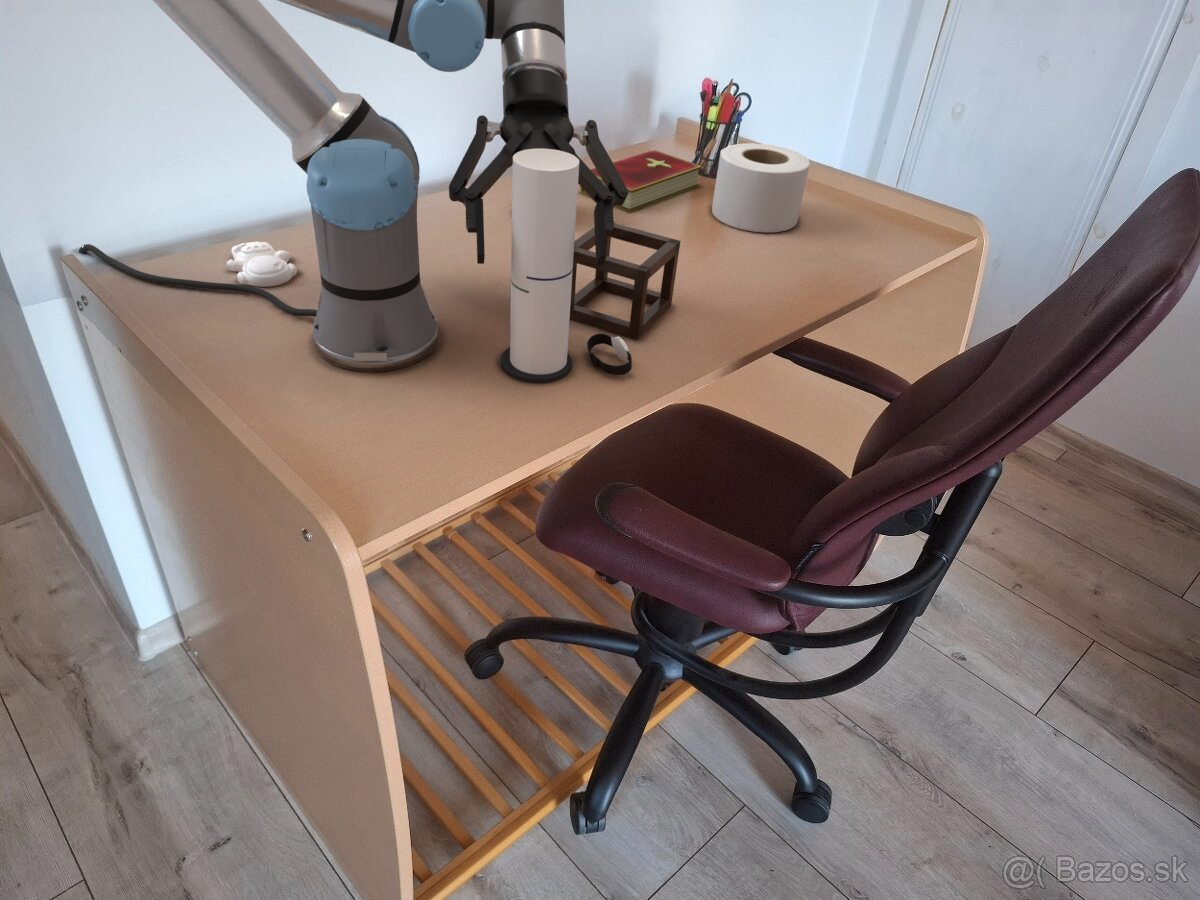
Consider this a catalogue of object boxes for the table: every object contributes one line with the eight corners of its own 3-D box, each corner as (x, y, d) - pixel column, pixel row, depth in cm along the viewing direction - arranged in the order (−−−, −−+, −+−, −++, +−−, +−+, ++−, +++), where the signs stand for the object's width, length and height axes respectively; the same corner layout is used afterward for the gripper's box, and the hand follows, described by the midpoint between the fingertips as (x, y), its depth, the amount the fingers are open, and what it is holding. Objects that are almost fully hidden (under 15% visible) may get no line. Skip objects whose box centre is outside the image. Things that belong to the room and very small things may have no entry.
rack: (560, 316, 115) (563, 248, 109) (598, 284, 124) (603, 219, 118) (637, 340, 112) (645, 271, 105) (671, 306, 120) (680, 240, 114)
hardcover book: (579, 192, 153) (581, 169, 151) (650, 169, 166) (652, 147, 164) (629, 212, 147) (631, 189, 145) (699, 186, 160) (702, 164, 158)
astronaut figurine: (285, 248, 125) (282, 229, 123) (301, 282, 117) (298, 262, 115) (222, 255, 122) (218, 236, 120) (235, 291, 113) (231, 271, 112)
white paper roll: (694, 213, 149) (703, 152, 143) (741, 193, 159) (752, 136, 153) (768, 241, 142) (781, 178, 135) (812, 218, 152) (827, 159, 145)
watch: (640, 374, 105) (643, 349, 103) (609, 383, 103) (612, 357, 100) (607, 345, 110) (609, 321, 108) (577, 353, 108) (578, 328, 105)
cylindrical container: (559, 378, 101) (570, 175, 86) (502, 368, 102) (504, 165, 87) (572, 350, 107) (585, 154, 92) (519, 340, 108) (523, 145, 93)
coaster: (486, 369, 103) (486, 364, 103) (523, 338, 110) (523, 334, 109) (549, 391, 100) (550, 387, 100) (584, 358, 107) (584, 354, 106)
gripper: (633, 105, 102) (643, 272, 100) (426, 96, 98) (430, 270, 96) (647, 70, 95) (657, 249, 92) (423, 59, 91) (427, 246, 88)
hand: (541, 260), depth 94 cm, fingers open, 13 cm apart
